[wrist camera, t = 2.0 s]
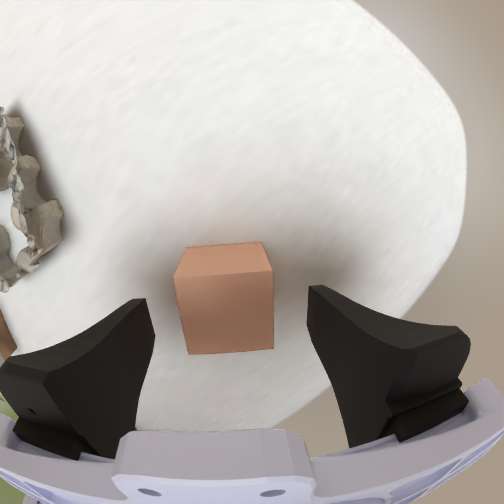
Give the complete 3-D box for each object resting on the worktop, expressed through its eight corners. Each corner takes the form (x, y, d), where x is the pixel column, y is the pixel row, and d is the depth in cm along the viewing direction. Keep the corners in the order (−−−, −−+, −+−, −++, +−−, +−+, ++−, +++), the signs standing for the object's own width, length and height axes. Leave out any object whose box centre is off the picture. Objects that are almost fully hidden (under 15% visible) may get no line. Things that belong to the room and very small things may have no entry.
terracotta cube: (263, 306, 16) (273, 348, 12) (195, 311, 16) (188, 354, 12) (261, 241, 15) (272, 270, 11) (186, 246, 14) (173, 277, 11)
